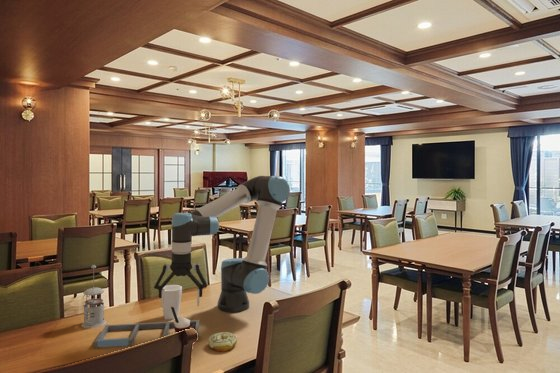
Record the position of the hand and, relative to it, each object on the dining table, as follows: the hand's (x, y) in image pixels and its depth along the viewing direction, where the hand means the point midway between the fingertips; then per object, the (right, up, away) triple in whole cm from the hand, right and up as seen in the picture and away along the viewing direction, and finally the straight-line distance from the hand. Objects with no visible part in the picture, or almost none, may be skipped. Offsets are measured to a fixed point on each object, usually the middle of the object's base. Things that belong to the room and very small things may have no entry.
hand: (180, 305), depth 158 cm
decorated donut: (+18, -13, -9) cm, 24 cm away
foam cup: (-9, -11, +19) cm, 24 cm away
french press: (-40, -11, +11) cm, 43 cm away
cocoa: (0, -12, +1) cm, 12 cm away
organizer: (-12, -12, -1) cm, 16 cm away
